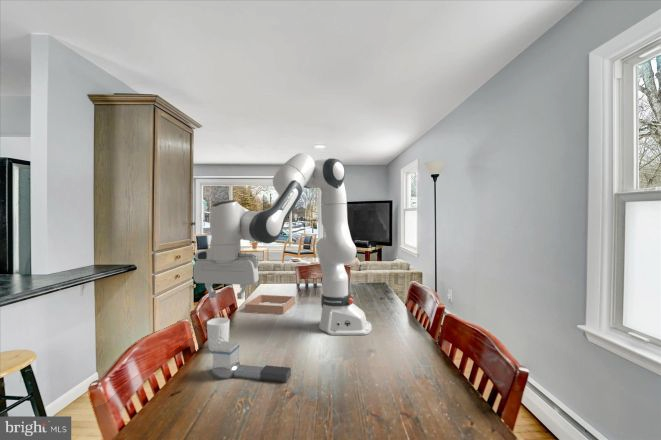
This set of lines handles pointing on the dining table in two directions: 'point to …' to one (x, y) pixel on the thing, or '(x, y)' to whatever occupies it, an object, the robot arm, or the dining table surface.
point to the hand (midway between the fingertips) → (226, 297)
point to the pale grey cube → (225, 355)
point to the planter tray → (276, 309)
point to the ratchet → (254, 373)
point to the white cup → (217, 331)
